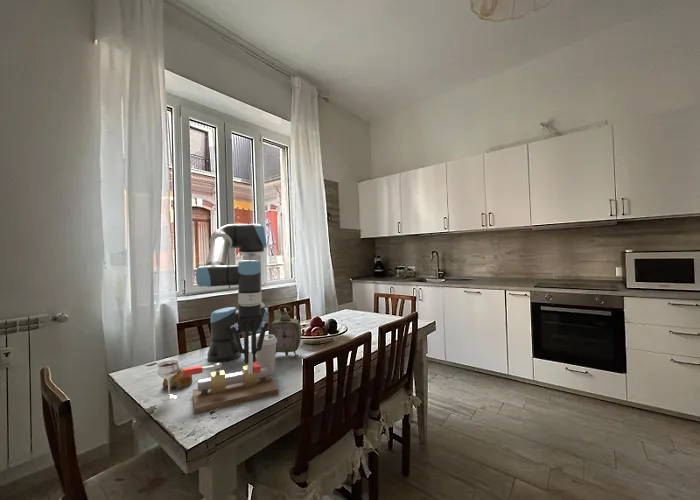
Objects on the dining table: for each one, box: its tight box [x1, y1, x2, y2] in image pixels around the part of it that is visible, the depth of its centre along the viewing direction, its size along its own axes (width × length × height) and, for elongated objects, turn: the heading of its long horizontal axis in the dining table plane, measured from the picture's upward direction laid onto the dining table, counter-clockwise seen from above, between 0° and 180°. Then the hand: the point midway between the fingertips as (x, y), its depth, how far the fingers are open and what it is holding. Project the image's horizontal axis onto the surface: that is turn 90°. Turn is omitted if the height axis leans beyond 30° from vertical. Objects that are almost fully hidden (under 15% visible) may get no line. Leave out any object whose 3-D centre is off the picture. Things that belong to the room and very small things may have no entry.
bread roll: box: [162, 367, 193, 391], centre depth 122 cm, size 10×10×8 cm
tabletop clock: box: [267, 304, 302, 359], centre depth 152 cm, size 14×9×25 cm, turn 91°
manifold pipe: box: [197, 365, 268, 395], centre depth 115 cm, size 4×24×8 cm, turn 118°
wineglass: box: [157, 359, 180, 401], centre depth 112 cm, size 7×7×12 cm
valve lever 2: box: [253, 361, 261, 374], centre depth 113 cm, size 12×3×2 cm, turn 32°
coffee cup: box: [256, 334, 277, 376], centre depth 132 cm, size 10×10×15 cm
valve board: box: [192, 375, 279, 415], centre depth 113 cm, size 15×27×2 cm, turn 118°
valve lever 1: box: [182, 362, 223, 376], centre depth 110 cm, size 12×3×2 cm, turn 117°
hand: (250, 371), depth 109 cm, fingers closed
